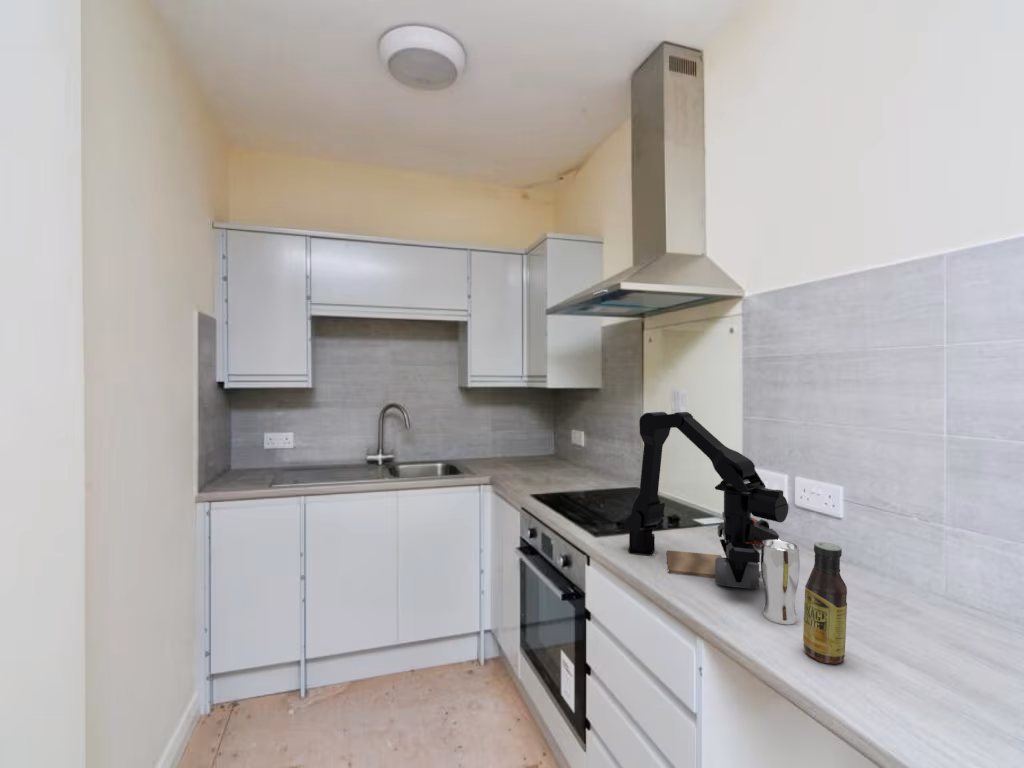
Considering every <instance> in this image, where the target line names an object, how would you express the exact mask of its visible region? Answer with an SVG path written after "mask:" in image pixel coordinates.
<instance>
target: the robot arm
mask: <svg viewBox="0 0 1024 768" xmlns="http://www.w3.org/2000/svg"><path fill="white" fill-rule="evenodd" d="M638 422H639V424H638V426H639V435H640V438H641V440H642V441H643V451H642V452H643V454H642V462H641V471H640V473H641V474H640V483H639V493H638V495H637V496H636V498H635V500H634V501H633V503H632V507H631V512H630V515H628V516H627V518H625V519H624V520H623V522H622V524H623V528H624V530H625V531H628V533H629V535H628V537H629V538H628V539H629V541H628V542H629V544H628V553H629V554H634V555H635V554H636V555H646V556H648V555H649V556H654V551H655V549H656V548H655V547H656V546H655V543H656V542H655V540H656V539H655V538H656V537H655V533H653V530H654V529H657V528H658V526H659V523H660V522H661V521H662V519H663V518H664V517H665V507H666V504H665V502H661V499H660V497H659V485H660V476H661V475H660V474H661V464H662V457H663V456H662V455H663V447H664V444H665V442H666V441H667V439H668V437H669V436H670V433H671V429H672V428H675V429H678V431H680V433H682V434H683V435H684V436H685V437H686V438H687V439H688V440H689V441H690V442H691V443H692V444H694V446H696V447H697V448H698V449H699V450H700V451H701V452H702V453H703V454H704V455H705V456H706V457H707V458H708V459H709V460H710V462H711V463H712V467H713V469H714V471H715V472H716V473H717V474H718V476H719V477H720V479H721V481H720V482H719V483H718V484H717V485H715V486H714V490H716V491H717V490H718V491H721V492H723V511H722V512H721V513H722V514H721V515H722V519H723V523H720V524H718V526H717V536H718V537H719V538H722V537H723V539H719V541H720V543H721V547H722V549H723V552H724V555H725V558H727V559H728V562H729V564H730V567H731V570H732V572H733V575H734V578H735V580H736V582H740V583H741V582H742V578H743V575H744V572H745V569H746V566H747V563H748V562H752V563H758V564H760V563H761V554H760V552H759V550H758V549H757V547H756V546H755V545H754V546H755V547H754V546H753V545H752V544H747V542H749V543H754V540H756V541H758V542H760V543H762V541H764V540H768V539H776V540H779V538H780V535H779V533H778V532H777V531H776V530H774V529H773V528H770V523H769V521H773V522H777V523H784V522H785V520H786V519H787V517H788V513H789V504H788V501H787V498H786V497H785V496H784V490H782V489H772V488H768V487H767V488H766V485H765V483H764V481H763V479H762V478H761V477H760V476H759V474H758V472H757V471H756V468H755V467H756V465H755V463H754V462H753V461H752V460H751V459H750V458H749V457H747V456H745V455H743V454H742V453H740V452H738V451H736V450H734V449H731V448H729V447H727V446H726V445H724V444H723V443H722V442H721V441H720V440H719V439H718V437H717V438H716V436H714V435H713V434H712V433H711V432H710V431H709V430H708V429H706V428H705V427H704V426H703V425H702V424H701V423H700V422H699V421H698V420H696V419H695V417H694V416H693V415H692V414H691V413H690V412H689V411H688V412H687V411H678V412H674V413H666V412H665V411H653V412H646V413H644V414H642V415H640V417H639V421H638ZM745 482H747V483H745ZM751 515H752V516H753V517H755V518H760V519H759V520H758V522H755V523H754V521H753V520H752V518H753V517H752V516H751ZM767 520H768V521H767Z"/></svg>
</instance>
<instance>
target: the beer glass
mask: <svg viewBox="0 0 1024 768" xmlns="http://www.w3.org/2000/svg"><path fill="white" fill-rule="evenodd" d="M760 551H761V554H760V571H761V572H762V578H763V579H762V584H763V588H764V595H765V596H764V597H765V598H764V599H765V600H764V606H763V611H762V614H763V615H762V616H764V618H766V619H767V620H769V621H771V622H773V623H775V624H780V625H785V626H786V625H788V626H790V625H791V626H792V625H794V624H796V623H797V621H798V617H797V613H796V605H795V603H796V601H795V600H796V595H797V591H798V586H799V581H800V575H801V574H800V571H801V565H800V564H801V563H800V561H801V560H800V552H799V551H800V549H799V546H798V545H797V544H796V543H794V542H791V541H789V540H788V541H787V540H783V539H778V540H776V539H768V540H764V541H762V545H761V550H760Z"/></svg>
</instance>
